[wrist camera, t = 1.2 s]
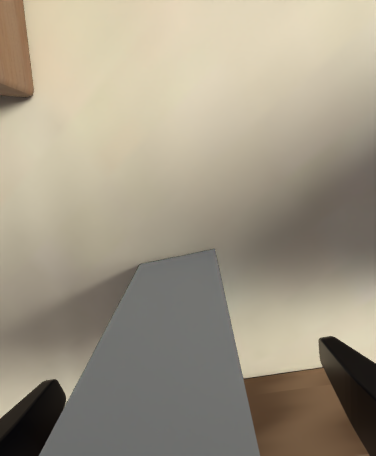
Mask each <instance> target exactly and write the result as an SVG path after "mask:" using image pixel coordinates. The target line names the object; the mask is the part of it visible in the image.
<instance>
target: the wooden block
mask: <svg viewBox="0 0 376 456" xmlns="http://www.w3.org/2000/svg"><path fill="white" fill-rule="evenodd" d="M33 92H34V88H33V80H32V72H31V63H30V55H29V47H28V39H27V31H26V22H25V14H24V6H23V0H0V95H4V96H17V97H28V96H32V95H33Z"/></svg>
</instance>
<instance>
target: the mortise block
mask: <svg viewBox="0 0 376 456" xmlns="http://www.w3.org/2000/svg"><path fill="white" fill-rule="evenodd" d="M243 380H244V385H245V389H246V394H247V398H248V403H249V407H250V412H251V417H252V421H253V426H254V430H255V435H256V439H257V444H258V449H259V453H260V456H370V455H369V454H368V452H367V450H366V449H365V447H364V445H363V444H362V442H361V440H360V439H359V437H358V435H357V434H356V432H355V430H354V428H353V427H352V425H351V423H350V421H349V419H348V417H347V415H346V413H345V411H344V409H343V407H342V405H341V403H340V401H339V399H338V397H337V395H336V393H335V391H334V389H333V387H332V384H331V382H330V380H329V378H328V376H327V374H326V372H325V370H324V368H319V369H312V370H305V371H298V372H291V373H284V374H277V375H270V376H263V377H256V378H249V379H243Z"/></svg>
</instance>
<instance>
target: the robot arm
mask: <svg viewBox="0 0 376 456" xmlns="http://www.w3.org/2000/svg"><path fill="white" fill-rule="evenodd" d="M319 354H320V361H321V364H322V366H323V368H324V370H325V372H326V374H327V376H328V378H329V380H330V382H331V384H332V387H333V389H334V391H335V393H336V395H337V397H338V399H339V401H340V403H341V405H342V407H343V409H344V411H345V413H346V415H347V417H348V419H349V421H350V423H351V425H352V427H353V428H354V430H355V432H356V434H357V435H358V437H359V439H360V440H361V442H362V444H363V445H364V447H365V449H366V450H367V452H368V454H369V455H370V456H376V363H374V362H372V361H371V360H369V359H368V358H366V357H365V356H363V355H362V354H360V353H358V352H357V351H355V350H354V349H352V348H351V347H349V346H348V345H346V344H345V343H343V342H341V341H340V340H338V339H337V338H335V337H333V336H329V337H322V338H320V339H319ZM65 402H66V395H65V393H64V391H63V389H62V387H61V386H60V384H59V382H58V381H57V380H56V379H53V380H46V381H44V382H42V383H41V384H40V385H39V386H37V387H36V388H35V389H34V390H33V391H32V392H31V393H29V394H28V395H27V396H26V397H25V398H24V399H22V400H21V401H20V402H19V403H18V404H17V405H16V406H14V407H13V408H12V409H11V410H10V411H9V412H7V413H6V414H5V415H4V416H3V417H2V418H1V419H0V456H39V455H40V453H41V451H42V449H43V447H44V445H45V443H46V441H47V439H48V438H49V436H50V434H51V432H52V430H53V428H54V426H55V424H56V422H57V420H58V419H59V417H60V415H61V413H62V411H63V409H64V406H65Z"/></svg>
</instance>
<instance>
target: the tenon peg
mask: <svg viewBox="0 0 376 456" xmlns="http://www.w3.org/2000/svg"><path fill="white" fill-rule="evenodd" d="M39 456H260V453H259V449H258V444H257V439H256V435H255V430H254V426H253V421H252V417H251V412H250V407H249V403H248V398H247V394H246V389H245V385H244V380H243V375H242V371H241V366H240V362H239V357H238V353H237V348H236V343H235V339H234V334H233V330H232V325H231V321H230V316H229V311H228V307H227V302H226V298H225V293H224V288H223V284H222V279H221V275H220V270H219V266H218V261H217V256H216V252H215V249H212V250H207V251H202V252H197V253H192V254H187V255H182V256H178V257H173V258H168V259H163V260H158V261H153V262H148V263H143V264H140V265H139V267H138V269H137V271H136V273H135V274H134V276H133V278H132V280H131V282H130V284H129V286H128V288H127V290H126V292H125V293H124V295H123V297H122V299H121V301H120V303H119V305H118V307H117V309H116V310H115V312H114V314H113V316H112V318H111V320H110V322H109V324H108V326H107V328H106V329H105V331H104V333H103V335H102V337H101V339H100V341H99V343H98V345H97V347H96V348H95V350H94V352H93V354H92V356H91V358H90V360H89V362H88V364H87V365H86V367H85V369H84V371H83V373H82V375H81V377H80V379H79V381H78V383H77V384H76V386H75V388H74V390H73V392H72V394H71V396H70V398H69V400H68V401H67V403H66V405H65V407H64V409H63V411H62V413H61V415H60V417H59V419H58V420H57V422H56V424H55V426H54V428H53V430H52V432H51V434H50V436H49V438H48V439H47V441H46V443H45V445H44V447H43V449H42V451H41V453H40V455H39Z"/></svg>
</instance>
